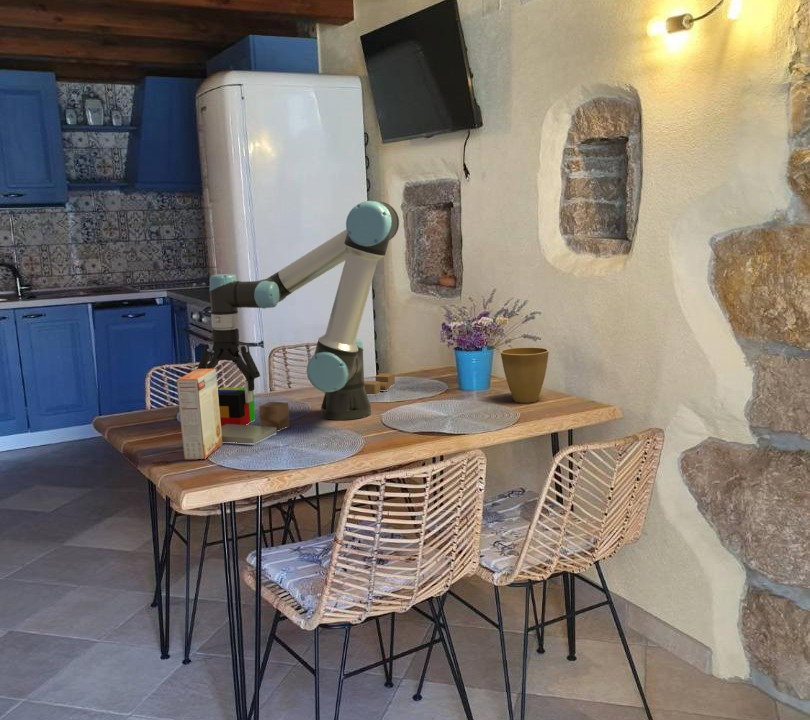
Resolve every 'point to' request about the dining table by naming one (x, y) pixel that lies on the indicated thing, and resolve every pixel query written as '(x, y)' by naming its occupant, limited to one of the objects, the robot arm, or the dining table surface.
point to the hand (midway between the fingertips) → (229, 400)
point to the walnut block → (274, 415)
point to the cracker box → (199, 413)
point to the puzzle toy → (235, 406)
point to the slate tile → (245, 433)
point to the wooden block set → (379, 383)
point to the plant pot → (525, 372)
